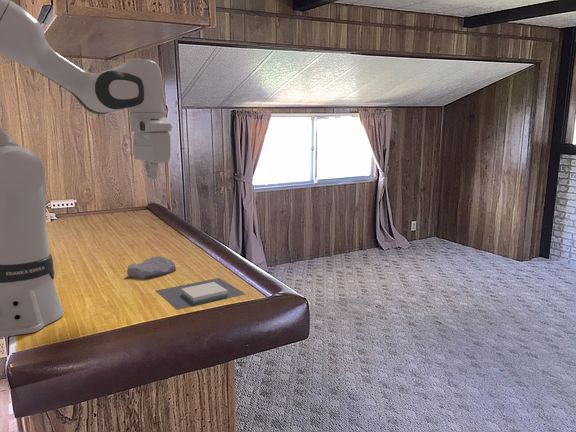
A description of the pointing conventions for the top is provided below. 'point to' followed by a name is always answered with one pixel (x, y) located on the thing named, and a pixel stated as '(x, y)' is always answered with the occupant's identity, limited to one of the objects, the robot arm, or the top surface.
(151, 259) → the stone block
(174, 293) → the mat
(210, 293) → the tile
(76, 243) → the top surface
